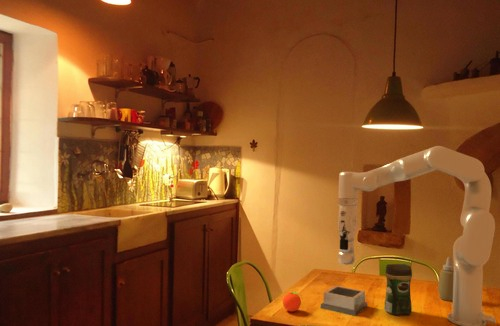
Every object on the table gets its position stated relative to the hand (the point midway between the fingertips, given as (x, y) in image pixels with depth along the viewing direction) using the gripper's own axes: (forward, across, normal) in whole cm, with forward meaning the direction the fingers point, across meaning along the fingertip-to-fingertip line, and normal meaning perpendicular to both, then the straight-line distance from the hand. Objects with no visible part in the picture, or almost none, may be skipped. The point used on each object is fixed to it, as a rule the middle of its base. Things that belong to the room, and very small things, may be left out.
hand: (346, 247), depth 168 cm
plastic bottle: (+7, 0, 0) cm, 7 cm away
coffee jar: (+24, +7, -18) cm, 31 cm away
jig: (+23, 0, 0) cm, 23 cm away
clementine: (+24, -17, +14) cm, 33 cm away
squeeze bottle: (+24, +39, -32) cm, 55 cm away
